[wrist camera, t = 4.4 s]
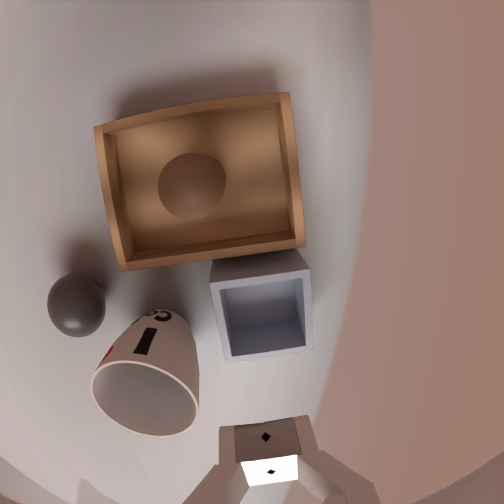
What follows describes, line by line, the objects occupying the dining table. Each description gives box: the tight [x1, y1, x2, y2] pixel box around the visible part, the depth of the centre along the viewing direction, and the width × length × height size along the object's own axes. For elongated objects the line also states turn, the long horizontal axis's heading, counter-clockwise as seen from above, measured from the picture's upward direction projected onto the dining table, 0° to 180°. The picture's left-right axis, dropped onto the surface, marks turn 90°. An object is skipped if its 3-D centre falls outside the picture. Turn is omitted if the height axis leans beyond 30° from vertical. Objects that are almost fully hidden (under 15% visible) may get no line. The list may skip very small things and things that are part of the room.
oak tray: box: [94, 92, 306, 272], centre depth 22 cm, size 11×14×4 cm
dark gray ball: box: [47, 274, 106, 337], centre depth 23 cm, size 6×6×6 cm
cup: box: [90, 309, 199, 437], centre depth 23 cm, size 8×8×10 cm
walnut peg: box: [158, 153, 226, 220], centre depth 20 cm, size 4×4×6 cm
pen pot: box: [209, 249, 313, 363], centre depth 24 cm, size 7×7×5 cm
